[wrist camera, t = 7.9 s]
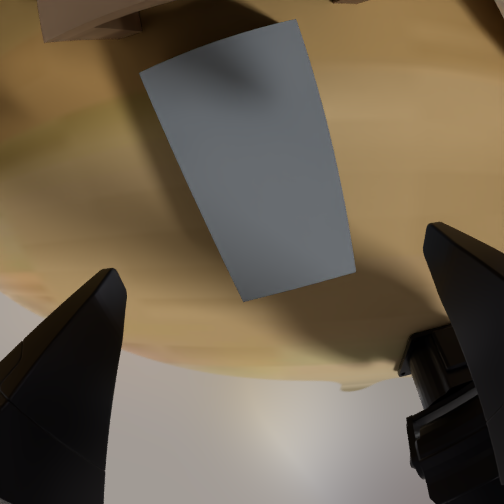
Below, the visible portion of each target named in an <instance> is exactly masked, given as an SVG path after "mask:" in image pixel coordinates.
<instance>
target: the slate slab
mask: <svg viewBox="0 0 504 504" xmlns="http://www.w3.org/2000/svg"><path fill="white" fill-rule="evenodd" d="M139 74H140V77H141V79H142V81H143V84H144V86H145V89H146V91H147V93H148V96H149V98H150V100H151V103H152V105H153V107H154V109H155V112H156V114H157V116H158V119H159V121H160V123H161V126H162V128H163V130H164V132H165V135H166V137H167V139H168V141H169V144H170V146H171V148H172V150H173V153H174V155H175V157H176V159H177V162H178V164H179V166H180V168H181V171H182V173H183V175H184V177H185V179H186V182H187V184H188V186H189V188H190V190H191V192H192V195H193V197H194V199H195V201H196V203H197V206H198V208H199V210H200V212H201V214H202V216H203V218H204V221H205V223H206V225H207V227H208V229H209V231H210V233H211V236H212V238H213V240H214V242H215V244H216V246H217V248H218V250H219V253H220V255H221V257H222V259H223V261H224V263H225V265H226V267H227V269H228V271H229V273H230V276H231V278H232V280H233V282H234V284H235V286H236V288H237V290H238V292H239V294H240V296H241V298H242V300H243V302H245V301H249V300H253V299H257V298H261V297H265V296H269V295H273V294H277V293H281V292H285V291H288V290H292V289H296V288H300V287H303V286H307V285H311V284H315V283H318V282H322V281H326V280H329V279H333V278H336V277H340V276H343V275H347V274H351V273H354V272H356V268H355V261H354V255H353V248H352V242H351V236H350V230H349V224H348V219H347V213H346V208H345V202H344V197H343V192H342V187H341V182H340V178H339V173H338V168H337V164H336V159H335V155H334V150H333V146H332V142H331V138H330V133H329V129H328V125H327V121H326V117H325V114H324V110H323V106H322V102H321V98H320V95H319V91H318V88H317V84H316V81H315V77H314V74H313V70H312V67H311V64H310V60H309V57H308V54H307V51H306V48H305V44H304V41H303V38H302V35H301V32H300V29H299V26H298V23H297V21H296V19H294V20H289V21H285V22H281V23H277V24H273V25H269V26H265V27H261V28H258V29H254V30H251V31H247V32H244V33H240V34H237V35H234V36H231V37H228V38H225V39H222V40H219V41H216V42H213V43H210V44H207V45H204V46H202V47H199V48H196V49H194V50H191V51H188V52H186V53H183V54H181V55H178V56H176V57H174V58H171V59H169V60H166V61H164V62H162V63H159V64H157V65H155V66H153V67H151V68H148V69H146V70H144V71H142V72H140V73H139Z"/></svg>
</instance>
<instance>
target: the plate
mask: <svg viewBox="0 0 504 504" xmlns="http://www.w3.org/2000/svg"><path fill="white" fill-rule="evenodd" d="M494 1H495V2H496V4H497V6H498V8H499V10H500V12H501V14H502V16H503V18H504V0H494Z"/></svg>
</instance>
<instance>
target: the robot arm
mask: <svg viewBox="0 0 504 504" xmlns="http://www.w3.org/2000/svg"><path fill="white" fill-rule="evenodd" d="M423 253H424V256H425V259H426V262H427V264H428V267H429V270H430V272H431V275H432V278H433V280H434V283H435V286H436V289H437V292H438V294H439V297H440V299H441V302H442V304H443V306H444V308H445V311H446V313H447V315H448V317H449V320H450V322H451V325H448V326H444V327H440V328H436V329H432V330H428V331H424V332H420V333H416V334H413V335H412V336H411V337H410V338H409V341H408V344H407V347H406V350H405V353H404V356H403V358H402V361H401V364H400V367H399V370H398V375H399V377H402V376H406V375H410V374H412V377H413V380H414V383H415V385H416V388H417V391H418V394H419V397H420V400H421V402H422V405H423V408H424V410H423V411H421V412H419V413H417V414H415V415H413V416H412V415H411V416H409V417H407V418H406V419H407V434H408V440H409V448H410V465H411V467H412V468H414V469H416V471H417V473H418V475H419V476H420V477H421V478H422V479H425V480H426V483H427V487H428V492H429V497H430V499H431V500H432V501H433V502H434V503H435V504H504V253H502V252H500V251H498V250H496V249H495V248H493V247H491V246H489V245H487V244H485V243H483V242H481V241H479V240H477V239H475V238H473V237H471V236H469V235H467V234H465V233H463V232H461V231H459V230H457V229H455V228H453V227H451V226H449V225H446V224H444V223H442V222H435V223H429V224H428V225H427V228H426V234H425V239H424V245H423ZM126 300H127V292H126V289H125V286H124V284H123V282H122V280H121V278H120V276H119V274H118V272H117V271H116V269H114V268H107V269H102V270H100V271H99V272H98V273H97V274H95V275H94V276H93V277H92V278H91V279H90V280H88V281H87V282H86V283H85V284H84V285H83V286H81V287H80V288H79V289H78V290H77V291H76V292H75V293H73V294H72V295H71V296H70V297H69V298H68V299H67V300H66V301H64V302H63V303H62V304H61V305H60V306H59V307H58V308H57V309H56V310H54V311H53V312H52V313H51V314H50V315H49V316H48V317H47V318H46V319H45V320H44V321H43V322H41V323H40V324H39V325H38V326H37V327H36V328H35V329H34V330H33V331H32V332H31V333H30V334H29V335H28V336H27V337H25V338H24V340H23V341H21V342H20V343H19V344H18V345H17V346H16V347H15V348H14V349H13V350H12V351H11V352H10V353H9V354H8V355H7V356H6V357H5V358H4V359H3V360H2V361H1V362H0V504H104V484H105V471H104V470H105V466H106V454H107V444H108V435H109V425H110V417H111V409H112V401H113V395H114V388H115V382H116V376H117V369H118V363H119V357H120V352H121V347H122V340H123V331H124V319H125V309H126Z"/></svg>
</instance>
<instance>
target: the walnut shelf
mask: <svg viewBox="0 0 504 504" xmlns="http://www.w3.org/2000/svg"><path fill="white" fill-rule="evenodd" d="M172 1H176V0H37V5H38V11H39V18H40V24H41V29H42V35H43V40H44V43H48V42H58V41H72V40H92V39H121V38H124V37H127V36H130V35H133V34H137V33H140V32H142V27H141V22H140V17H139V12H138V11H141V10H144V9H147V8H150V7H154V6H157V5H161V4H164V3H168V2H172ZM365 1H368V0H333V3H351V4H358V3H361V2H365Z"/></svg>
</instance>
